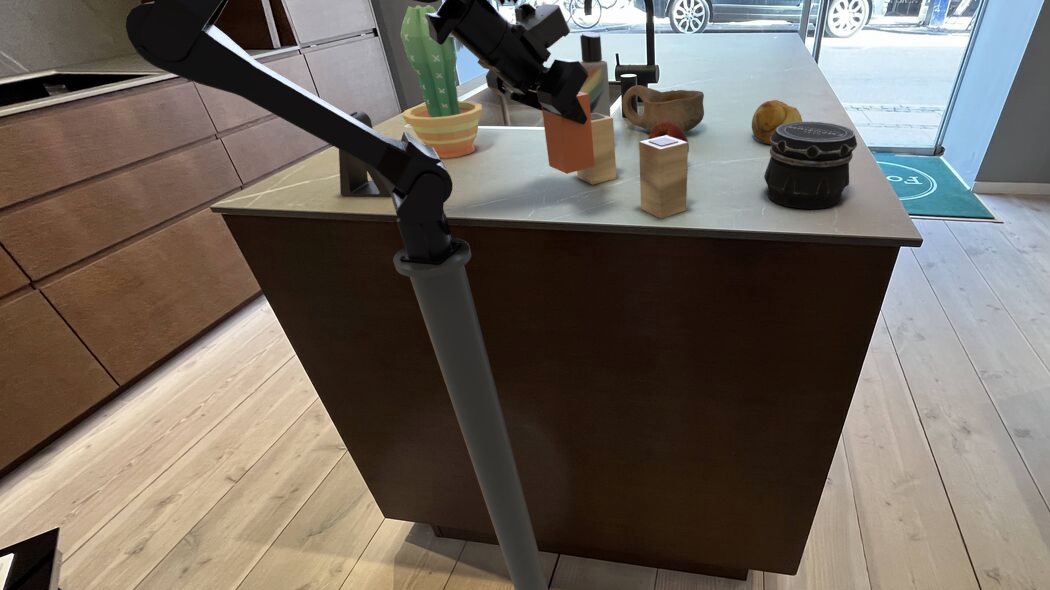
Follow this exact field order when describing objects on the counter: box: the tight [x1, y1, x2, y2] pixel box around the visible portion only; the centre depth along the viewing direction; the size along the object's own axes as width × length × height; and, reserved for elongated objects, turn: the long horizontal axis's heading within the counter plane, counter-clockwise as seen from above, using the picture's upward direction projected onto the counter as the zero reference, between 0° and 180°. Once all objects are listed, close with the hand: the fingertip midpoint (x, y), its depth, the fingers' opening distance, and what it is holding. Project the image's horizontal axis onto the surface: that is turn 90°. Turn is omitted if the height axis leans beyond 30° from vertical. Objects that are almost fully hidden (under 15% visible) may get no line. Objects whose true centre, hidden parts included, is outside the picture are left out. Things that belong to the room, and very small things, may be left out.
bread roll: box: [751, 99, 803, 145], centre depth 107 cm, size 13×10×8 cm
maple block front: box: [638, 135, 689, 220], centre depth 78 cm, size 5×5×10 cm
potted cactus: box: [399, 4, 483, 159], centre depth 101 cm, size 15×15×25 cm
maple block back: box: [576, 113, 617, 186], centre depth 90 cm, size 5×5×10 cm
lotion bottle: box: [579, 31, 611, 117], centre depth 103 cm, size 6×6×20 cm
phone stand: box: [338, 111, 394, 197], centre depth 88 cm, size 9×6×12 cm, turn 84°
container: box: [763, 121, 858, 210], centre depth 80 cm, size 13×13×10 cm
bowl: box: [621, 84, 705, 133], centre depth 113 cm, size 18×14×10 cm
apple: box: [647, 122, 690, 152], centre depth 94 cm, size 7×8×8 cm
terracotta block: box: [541, 91, 595, 175], centre depth 77 cm, size 5×5×10 cm
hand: (575, 118), depth 77 cm, fingers closed on terracotta block, 5 cm apart
